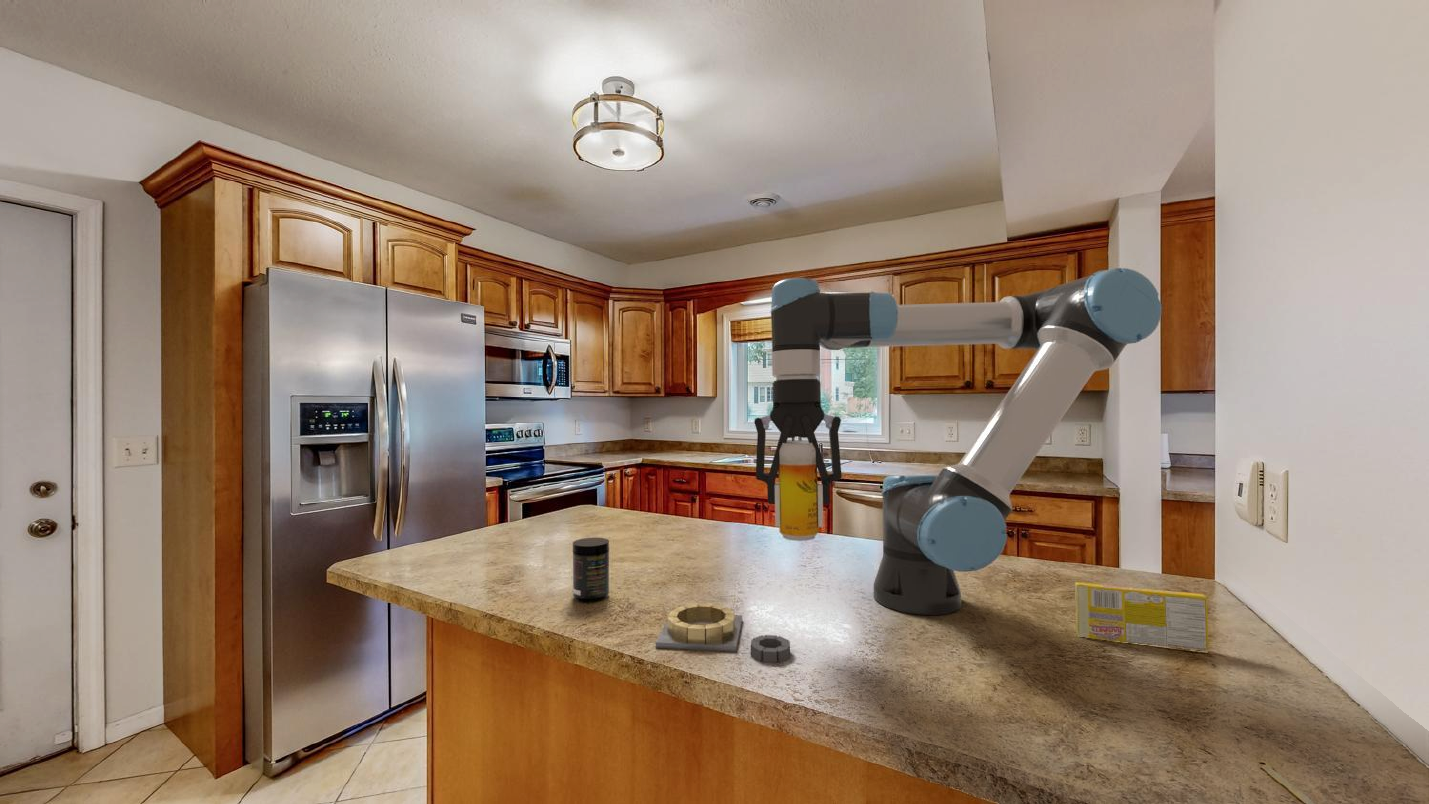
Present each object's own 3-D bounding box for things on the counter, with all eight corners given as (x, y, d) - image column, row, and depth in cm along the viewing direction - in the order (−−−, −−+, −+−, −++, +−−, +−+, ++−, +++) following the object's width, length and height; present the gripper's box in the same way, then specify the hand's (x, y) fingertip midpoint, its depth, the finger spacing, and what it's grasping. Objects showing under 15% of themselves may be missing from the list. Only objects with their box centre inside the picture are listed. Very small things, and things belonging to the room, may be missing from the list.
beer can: (818, 542, 86) (816, 443, 86) (777, 540, 87) (776, 443, 87) (818, 532, 92) (817, 440, 92) (781, 531, 93) (779, 440, 93)
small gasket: (789, 646, 84) (789, 636, 84) (790, 663, 79) (790, 652, 79) (752, 644, 85) (752, 634, 85) (749, 661, 79) (749, 650, 79)
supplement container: (617, 596, 106) (616, 540, 106) (588, 606, 101) (588, 548, 101) (593, 588, 110) (593, 535, 110) (565, 598, 105) (564, 542, 105)
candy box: (1203, 649, 83) (1203, 593, 83) (1209, 655, 81) (1209, 597, 81) (1074, 633, 89) (1074, 580, 89) (1077, 638, 87) (1077, 584, 87)
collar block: (742, 620, 94) (742, 603, 94) (736, 651, 82) (735, 632, 82) (671, 617, 96) (671, 600, 96) (655, 647, 84) (655, 628, 84)
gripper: (854, 378, 92) (857, 520, 92) (738, 380, 94) (741, 519, 94) (860, 376, 84) (863, 530, 84) (734, 379, 87) (737, 529, 87)
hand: (799, 524), depth 89 cm, fingers closed on beer can, 6 cm apart
